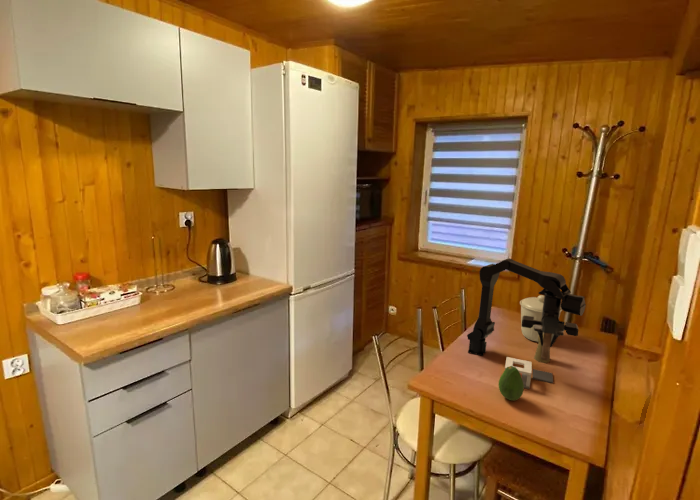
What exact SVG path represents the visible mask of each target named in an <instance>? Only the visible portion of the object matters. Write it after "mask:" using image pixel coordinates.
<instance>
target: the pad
mask: <svg viewBox="0 0 700 500" xmlns="http://www.w3.org/2000/svg"><path fill="white" fill-rule="evenodd" d="M532 380H536V381H539V382H544V383H549V384H554V378H553V372H550V371H549V372H548V371H545V370H540V369H534V368H533V369H532Z"/></svg>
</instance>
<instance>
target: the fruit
mask: <svg viewBox="0 0 700 500" xmlns="http://www.w3.org/2000/svg"><path fill="white" fill-rule="evenodd" d="M513 366H514V365H513ZM513 366H510V367H507V368H506V369H505V368H504V371H503V372H502V373H501V375H500V378H499V380H498V390H499V392H500V395H502V397H503V398H505V399H507V400H509V401H517V400H519V399H520V398H521V397H522V395H523V393H524V389H525V388H524V385H523V381H522V378H521V375H520V373H519V371H518V370H517V368H516V367H517V366H515V367H513Z"/></svg>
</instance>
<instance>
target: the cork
mask: <svg viewBox="0 0 700 500" xmlns="http://www.w3.org/2000/svg"><path fill="white" fill-rule="evenodd" d="M543 339H544V334H543ZM538 341H539V342H537V343H538V344H537V347H536V351H535V354H534V357H533V359H534V360H535V361H536V362H538V363H542V364H549V363H550V362H551V353H550V352H551V351H550V352H549V359H548V360H543V359H541V354H542V346H541V341H540V337H539V336H538Z"/></svg>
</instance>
